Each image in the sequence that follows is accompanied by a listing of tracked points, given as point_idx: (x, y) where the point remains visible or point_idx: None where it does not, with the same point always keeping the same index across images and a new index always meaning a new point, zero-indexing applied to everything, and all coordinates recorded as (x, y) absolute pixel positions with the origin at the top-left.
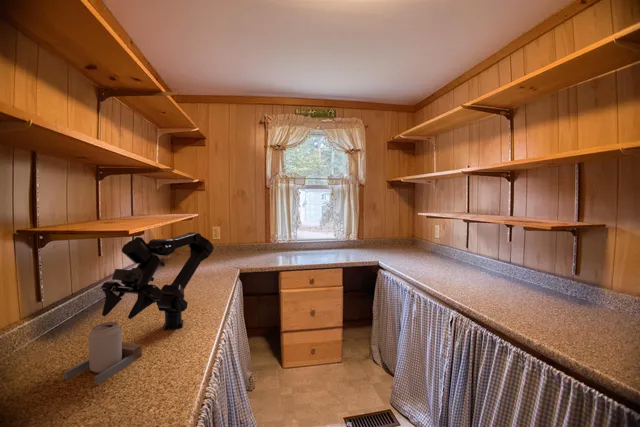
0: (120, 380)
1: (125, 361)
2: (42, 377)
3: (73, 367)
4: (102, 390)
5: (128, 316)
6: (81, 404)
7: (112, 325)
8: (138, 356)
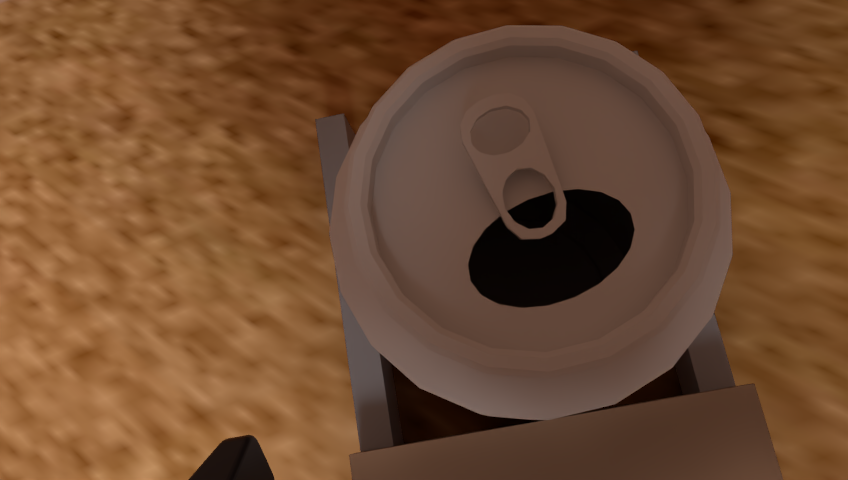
0: (234, 236)
1: (350, 361)
2: (806, 28)
3: None
4: (246, 126)
5: (236, 447)
6: (237, 11)
7: (632, 381)
8: None
